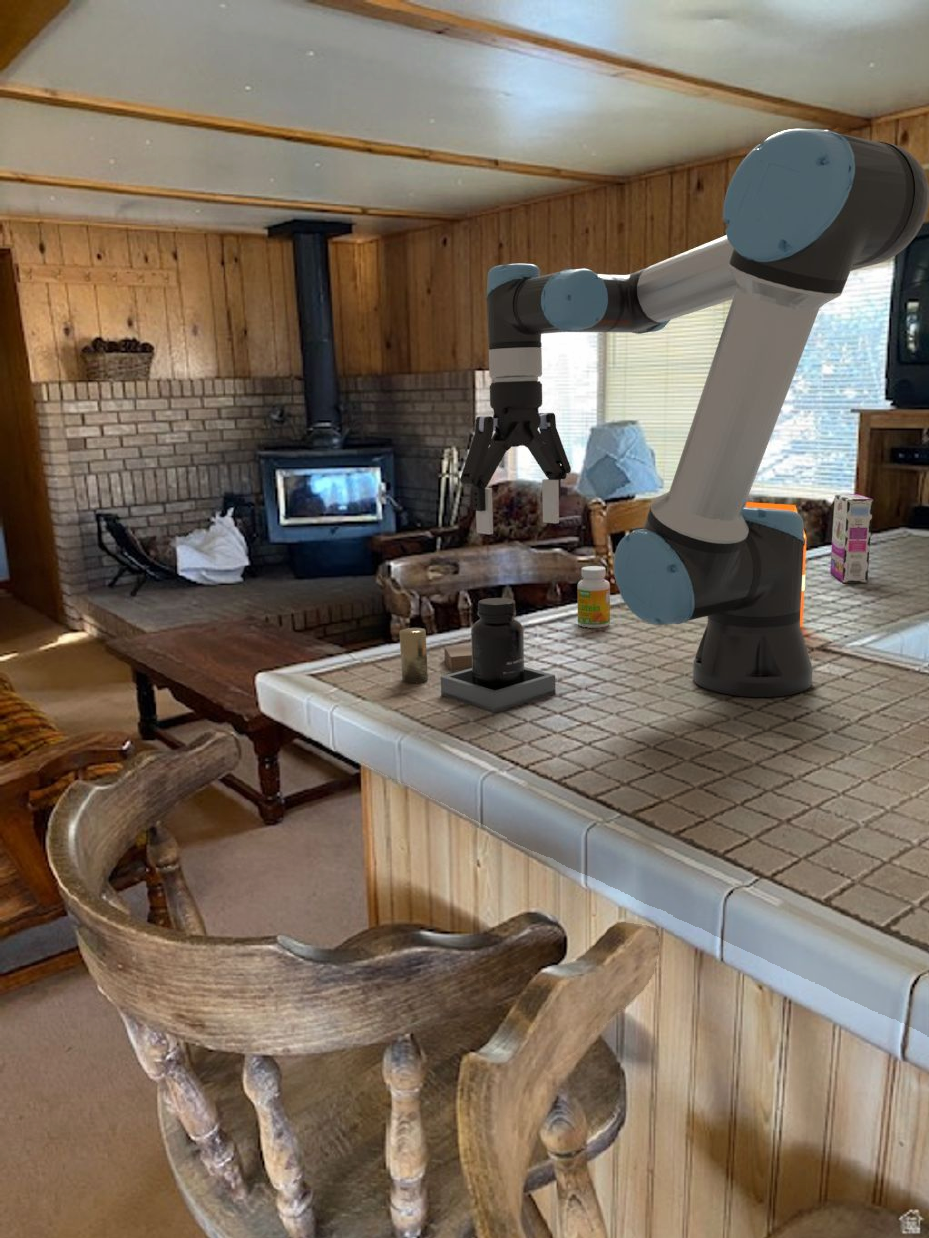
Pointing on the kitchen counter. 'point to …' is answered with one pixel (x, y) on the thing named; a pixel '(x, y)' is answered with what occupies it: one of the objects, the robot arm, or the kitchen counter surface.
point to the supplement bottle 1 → (497, 645)
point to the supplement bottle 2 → (593, 598)
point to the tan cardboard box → (458, 657)
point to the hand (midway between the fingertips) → (518, 528)
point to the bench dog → (413, 655)
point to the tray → (497, 700)
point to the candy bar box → (851, 538)
